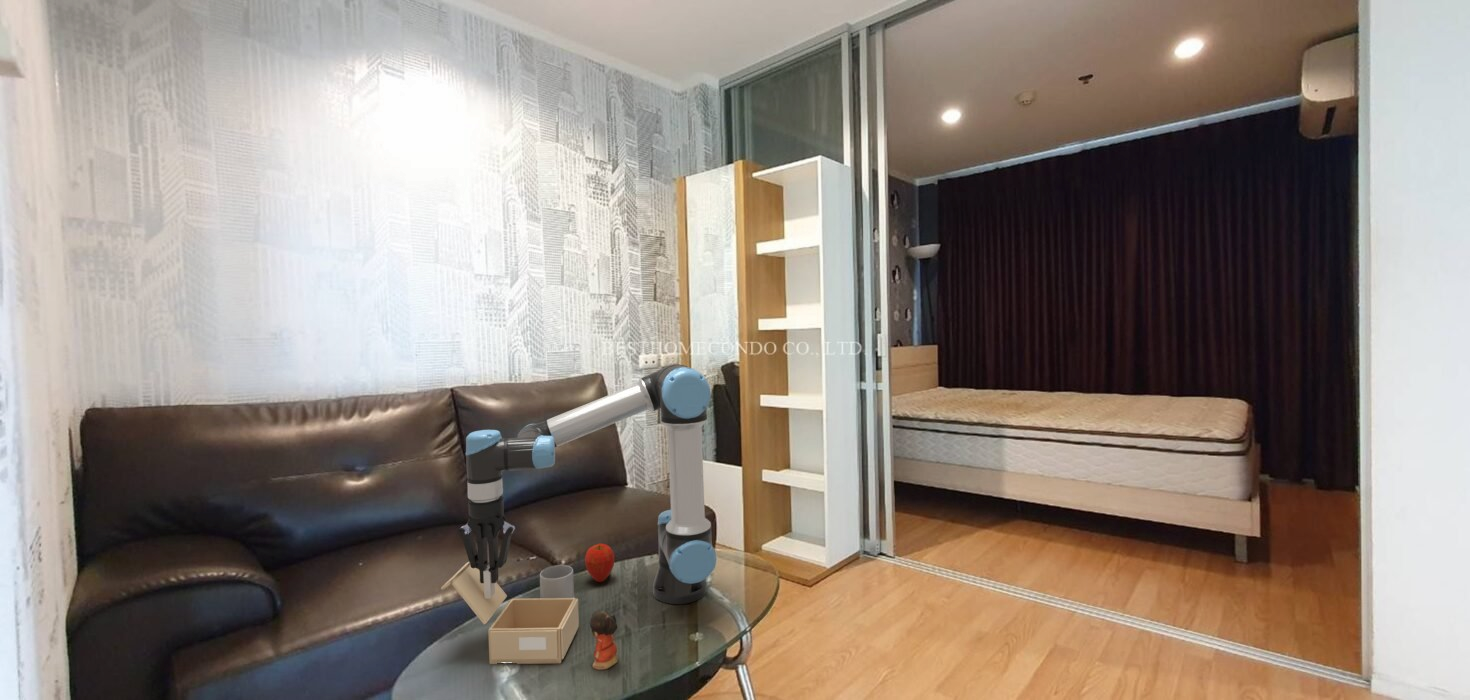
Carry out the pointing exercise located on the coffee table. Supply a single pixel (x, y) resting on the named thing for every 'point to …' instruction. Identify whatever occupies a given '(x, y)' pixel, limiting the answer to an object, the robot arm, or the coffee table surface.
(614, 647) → the figurine
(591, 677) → the coffee table surface
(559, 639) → the carton
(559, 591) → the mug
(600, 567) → the apple
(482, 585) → the lid
